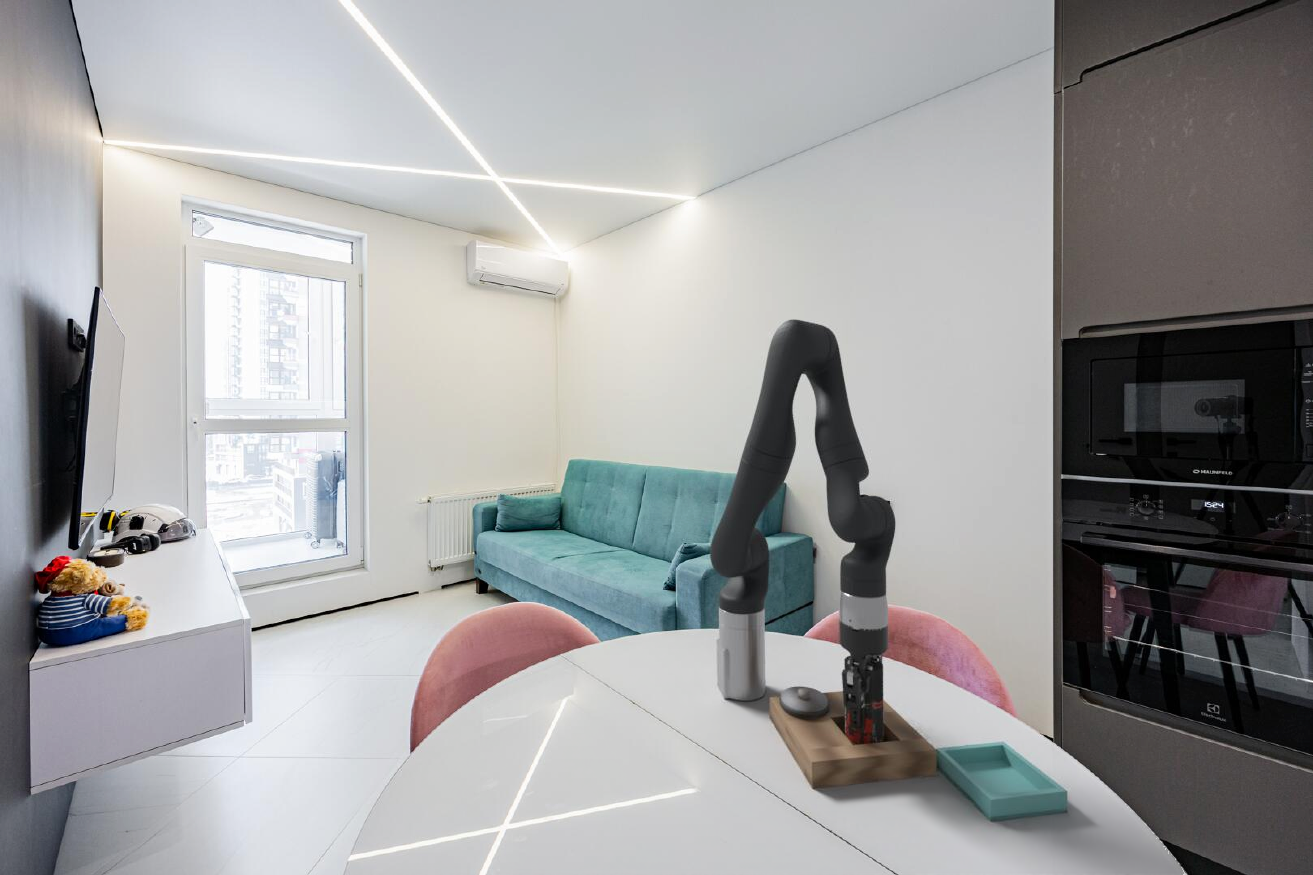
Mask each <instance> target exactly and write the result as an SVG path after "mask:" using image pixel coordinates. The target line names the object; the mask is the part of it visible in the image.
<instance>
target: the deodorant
mask: <svg viewBox="0 0 1313 875" xmlns="http://www.w3.org/2000/svg"><path fill="white" fill-rule="evenodd" d="M850 656H851V655H848V656H846V657H845V658H844V670H848V671H849V669H850V668H849V664H848V659H849V658H850ZM871 664H874V663H871ZM874 666H875V667H874V669H873V670H869V669H866V670H865V678H864V679H863V680H861V687H864V686H865V684H866V679H868V678H869V676H870V692H869V693H867V694H866V702H865V704H866V705H865V729H864V730H863V731H860V730H857V729H854V728H852V727H851V726H850V707H849V706H845V736H846V737H847V738H848V740H849V741H850V742H851V743H852V745H860V744H870V743H880V742H883V700H884V664H883V661H882V662H881V661H879V662H878V664H874ZM853 698H856V697H855V696H854V695H853Z"/></svg>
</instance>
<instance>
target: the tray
mask: <svg viewBox="0 0 1313 875" xmlns="http://www.w3.org/2000/svg"><path fill="white" fill-rule="evenodd" d="M935 749H936V769H938V770H939V771H940V772H941V773H942V775H943V776H945V778H947V779H948V780H949V781H950V782H951V784H952V785H953V786H954V787H956V788H957V787H958V788H959V789H958V788H957V789H958V790H959V791H960V793H962V794H963V795H964V796H965V798H967V799H968V800H969V801H970V800H971V801H970V802H971V803H972V804H973V805H974V806H975V807H976V809H978V810H979V811H980V812H981V814H983V815H984V816H985V817H986V818H987V819H988V820H989V821H990V822H996V821H1004V820H1006V821H1007V820H1011V819H1012V820H1013V819H1021V818H1031V817H1038V816H1039V817H1040V816H1046V815H1048V816H1049V815H1055V814H1064V813H1068V790H1067V789H1066V788H1064V787H1063V786H1062V785H1060V784H1059V783H1058V782H1056V780H1054V779H1053V778H1051V777H1050V776H1049V775H1047V774H1046V773H1045V772H1043V771H1042V770H1041V769H1040V768H1038V767H1037V766H1036V765H1035V764H1033V763H1032V762H1031V761H1029V760H1028V759H1027V758H1026V757H1024V756H1023V755H1021V754H1020V753H1019V752H1017V751H1016V750H1015V749H1014V748H1013V747H1011V745H1009V744H1008V743H1006V742H1005V741H997V742H996V741H995V742H983V743H976V744H975V743H974V744H964V745H958V746H957V745H956V746H954V745H953V746H944V747H936V748H935Z"/></svg>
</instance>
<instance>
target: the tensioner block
mask: <svg viewBox="0 0 1313 875" xmlns="http://www.w3.org/2000/svg"><path fill="white" fill-rule="evenodd" d="M843 701H844V700H843V690H841V691H830V692H829V691H827V692H821V691H820V690H817V689H815V688H813V687H808V686H791V687H788V688H785V689H784V690H783V691H781V693H780V694H779V696H770V697H769V719H771V720H770V721H771V723H772V725H773V724H774V725H773V726H774V728H775V729H776V731H777V733H778V734H779V736H780V738H781V739H782V741H783V743H784V745H785V746H786V749H788V751H789V753H790V754H791V755H792V757H793V759H794V761H795V763H796V764H797V766H798V768H799V769H800V770H801V773H802V774H803V776H804V777H805V779H806V780H807V782H808V784H809V785H810V787H811V788H812V789H818V788H819V789H820V788H829V787H835V786H836V787H837V786H838V787H839V786H847V785H856V784H857V785H858V784H865V783H874V782H875V783H876V782H885V781H893V780H903V779H904V780H905V779H912V778H921V777H923V778H924V777H930V776H932V775H933V776H937V767H936V748H935V747H934V746H933V745H932V744H931V743H930V742H929V741H928V740H927V739H926V738H925V737H924V736H923V735H922V734H921V733H919V732H918V730H916V729H915V728H914V727H913V726H912V725H911V724H910V723H909V722H908V721H907V720H905V718H904V717H902V716H901V714H900V713H898V712H897V711H896V710H895V709H894V708H893V707H892V706H891V705H890V704H889V703H888V702H886V701H885V700H884V699H883V742H880V743H870V744H860V745H852V743H851V742H850V741H849V740H848V738H847V737H846V736H845V705H844V702H843Z"/></svg>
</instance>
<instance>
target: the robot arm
mask: <svg viewBox="0 0 1313 875" xmlns="http://www.w3.org/2000/svg"><path fill="white" fill-rule="evenodd" d="M837 339H838V338H837V337H836V335H835V333H834V332H833V331H832V330H831V329H830V328H829V327H827V326H825V325H822V324H818V323H814V322H809V321H805V320H801V319H788V320H786V321H784V322H782V323H781V325H779V326H778V327H777V328H776V330H775V332H774V334H773V336H772V339H771V340H770V344H769V347H768V353H767V357H766V362H765V367H764V372H763V379H762V383H761V388H760V393H759V396H758V400H757V404H756V408H755V411H754V414H753V419H752V423H751V426H750V429H749V432H748V435H747V438H746V441H745V444H744V447H743V450H742V454H741V457H740V461H739V465H738V469H737V472H736V475H735V478H734V482H733V485H732V488H731V491H730V495H729V497H728V500H727V503H726V506H725V509H724V511H723V513H722V516H721V518H720V520H719V523H718V525H717V527H716V530H715V532H714V535H713V538H712V540H711V543H710V549H709V556H710V557H709V558H710V562H711V565H712V567H713V570H714V571H715V572H716V573H717V574H718V575H719V576H721V577H724V578H729V579H728V581H727V582H726V583H725V585H724V586H723V587H722V589H721V590H720V591H719V594H718V632H719V633H718V635H719V636H718V639H716V682H717V683H716V685H717V687H718V689H719V691H720V692H721V695H722V697H723V699H730V700H736V701H743V702H744V701H748V702H749V701H755V700H758V699H761V697H762V698H763V697H764V695H766V694H765V693H766V682H767V681H766V635H765V634H766V631H765V630H766V626H765V621H766V620H765V618H766V617H765V615H766V614H765V601H766V598H767V595H768V590H769V583H770V582H769V581H770V580H769V579H770V578H769V577H770V548H769V544H768V541H767V539H766V538H767V537H766V536H765V535H764V534H763V532H762V531H761V530H760V529H758V528H757V527H756V526H757V523H758V521H759V519H760V517H761V515H762V513H763V512H764V511H765V509H766V508H767V506H768V505H769V504H770V503H771V501H772V500H773V499H774V498H775V496H776V494H778V492H779V490H780V489H781V488H782V486H783V485H784V482H785V480H786V478H787V477H788V473H789V472H790V468H791V465H792V461H793V459H794V456H795V453H796V447H797V433H796V426H795V420H794V414H793V413H794V411H793V410H794V408H793V407H794V400H795V395H796V392H797V389H798V385H799V382H800V379H801V378H802V375H805V376H806V378H807V380H808V381H809V384H810V386H811V388H812V391H813V394H814V398H815V409H816V410H815V421H814V442H815V447H816V451H817V455H818V458H819V460H820V464H821V466H822V469H823V473H824V475H825V478H826V479H825V480H826V483H825V484H826V485H825V486H826V487H825V488H826V501H827V502H826V503H827V504H826V505H827V507H826V508H827V516H828V520H829V525H830V527H831V528H832V530H833V531H834V533H835V534H836V536H837V537H838V538H839V539H841V540H842V541H844V542H846V543H848V544H849V543H850V544H851V543H853V544H854V546H853V548H852V550H851V551H850V552H848V553H846V554H845V555H844V556H843V557H842V558H841V560H840V568H839V570H840V571H839V573H840V575H839V576H840V577H839V580H840V582H839V583H840V584H839V588H840V590H839V599H838V641H839V643H838V644H839V645H840V646H841V647H842V648H843V649H844V650H846V651H847V652H848V653H849V654H850V655H849V656H850V658H849V659H848V664H849V668H850V669H849V671H848V670H845V669H842V672H841V680H842V681H841V683H842V684H841V685H842V691H843V700H844V701H843V702H844V705H845V706H849V707H850V726H851V727H852V728H854V729H857V730H860V731H863V730H864V729H865V705H866V704H865V702H866V694H867V693H869V692H870V676H869V678H868V679H866V684H865V686H864V687H861V680H863V679H864V678H865V670H866V669H869V670H873V669H874V667H875V666H874V664H878V662H879V661H881V662H882V663H883V654H885V653H886V652H887V651H888V649H889V605H888V599H887V566H888V561H889V558H890V555H891V550H892V547H893V543H894V538H895V533H896V516H895V513H894V510H893V508H892V506H891V505H890V503H889V502H888V501H887V500H886V499H885V498H883V497H881V496H878V495H867V496H866V495H865V496H861V489H860V483H861V482H863V481H864V480H866V479H867V478H868V477H869V475H870V469H869V465H868V462H867V458H866V456H865V452H864V450H863V447H862V444H861V441H860V438H859V436H858V432H857V429H856V427H855V423H854V420H853V416H852V412H851V408H850V404H849V398H848V392H847V388H846V386H847V385H846V381H845V376H844V371H843V364H842V357H841V351H840V347H839V344H838V340H837ZM871 663H874V664H871ZM853 695H854V696H855V697H856V698H853Z"/></svg>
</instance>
